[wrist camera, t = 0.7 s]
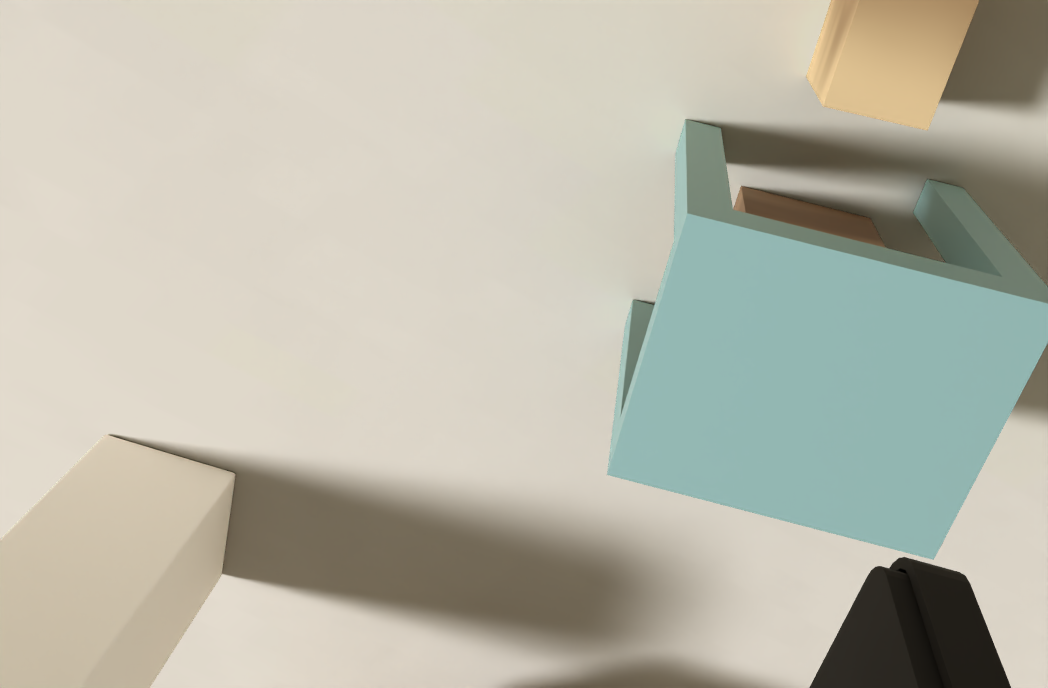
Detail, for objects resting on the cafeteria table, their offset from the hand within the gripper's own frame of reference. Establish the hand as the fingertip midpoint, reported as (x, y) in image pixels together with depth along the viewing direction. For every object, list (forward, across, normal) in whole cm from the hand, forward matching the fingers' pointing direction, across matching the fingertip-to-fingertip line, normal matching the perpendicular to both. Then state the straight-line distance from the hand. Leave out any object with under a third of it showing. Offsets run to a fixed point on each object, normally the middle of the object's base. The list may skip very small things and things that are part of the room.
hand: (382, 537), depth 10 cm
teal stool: (+25, -8, +5) cm, 27 cm away
